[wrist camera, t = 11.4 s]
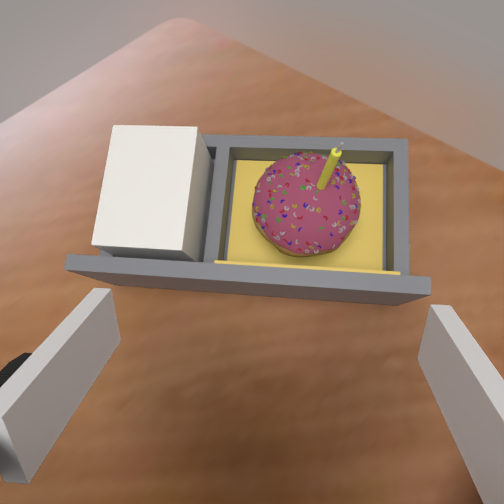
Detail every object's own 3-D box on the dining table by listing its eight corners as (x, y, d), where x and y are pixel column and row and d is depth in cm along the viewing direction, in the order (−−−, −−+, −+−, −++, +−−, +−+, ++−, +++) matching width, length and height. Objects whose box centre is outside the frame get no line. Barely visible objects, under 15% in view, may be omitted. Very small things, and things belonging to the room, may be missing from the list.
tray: (115, 285, 35) (64, 269, 27) (137, 151, 38) (97, 103, 30) (396, 305, 32) (431, 294, 24) (396, 159, 35) (426, 107, 27)
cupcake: (320, 162, 35) (336, 72, 23) (370, 238, 32) (415, 182, 21) (240, 206, 34) (215, 138, 23) (285, 285, 32) (283, 255, 21)
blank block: (130, 263, 34) (91, 244, 28) (146, 164, 37) (113, 125, 30) (203, 268, 34) (181, 250, 27) (215, 166, 36) (197, 126, 29)
